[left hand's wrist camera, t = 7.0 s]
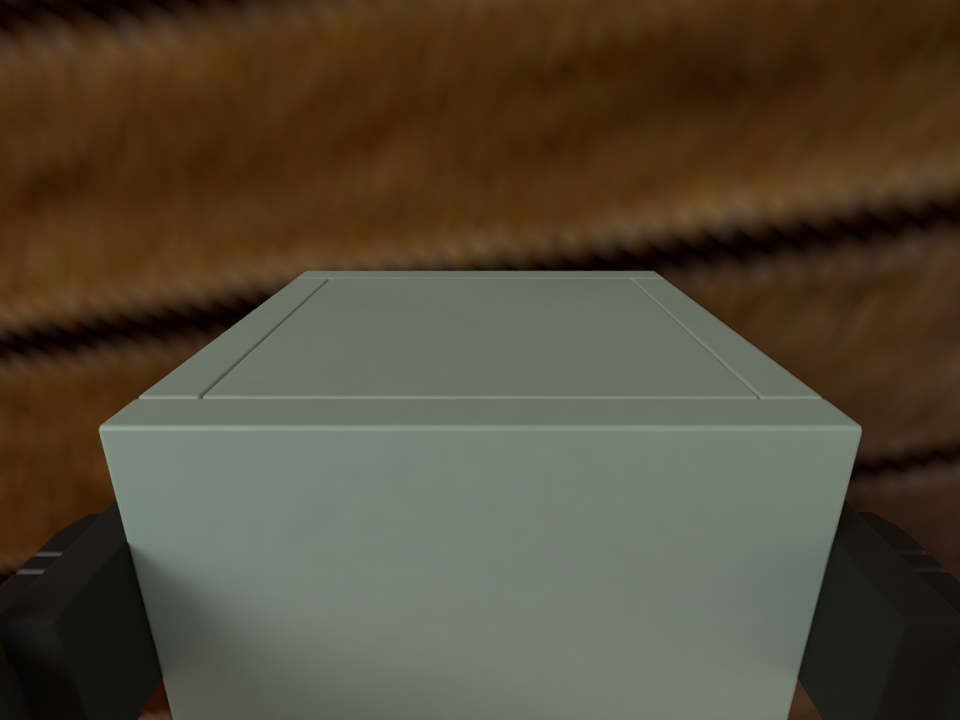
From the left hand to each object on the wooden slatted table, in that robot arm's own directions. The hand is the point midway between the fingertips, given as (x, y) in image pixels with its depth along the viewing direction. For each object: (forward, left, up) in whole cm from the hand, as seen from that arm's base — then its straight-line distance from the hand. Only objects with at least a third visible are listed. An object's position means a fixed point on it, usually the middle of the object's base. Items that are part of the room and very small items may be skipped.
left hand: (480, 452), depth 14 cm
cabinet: (+1, +5, -5) cm, 7 cm away
